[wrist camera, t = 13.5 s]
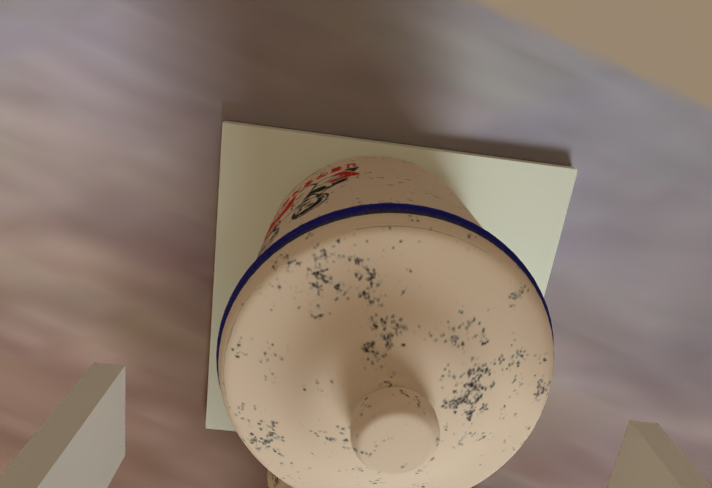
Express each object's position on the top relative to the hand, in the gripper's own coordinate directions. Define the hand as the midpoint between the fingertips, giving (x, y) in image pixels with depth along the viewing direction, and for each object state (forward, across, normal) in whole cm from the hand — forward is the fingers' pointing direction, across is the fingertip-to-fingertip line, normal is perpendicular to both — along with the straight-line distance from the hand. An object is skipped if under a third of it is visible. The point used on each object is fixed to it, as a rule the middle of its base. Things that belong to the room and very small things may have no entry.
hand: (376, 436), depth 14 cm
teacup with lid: (+10, 0, 0) cm, 10 cm away
